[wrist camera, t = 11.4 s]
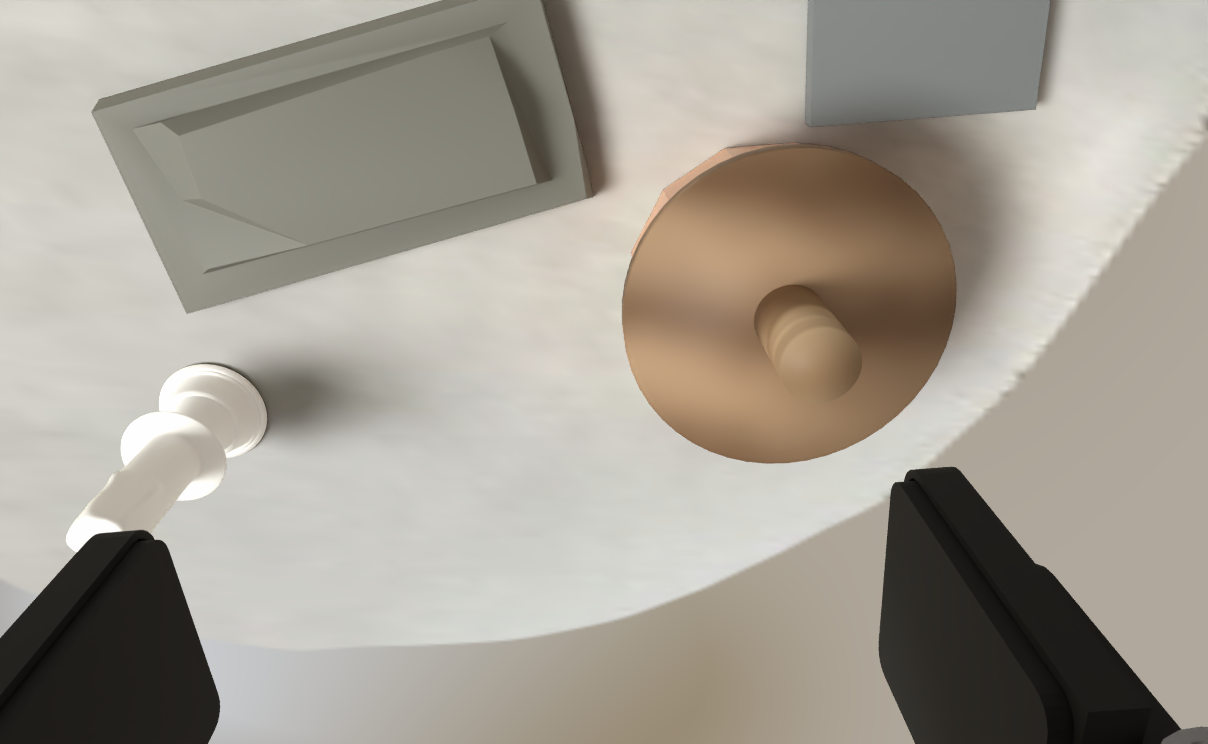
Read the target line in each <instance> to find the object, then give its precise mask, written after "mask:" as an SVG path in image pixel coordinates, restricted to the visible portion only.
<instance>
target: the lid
mask: <svg viewBox="0 0 1208 744" xmlns="http://www.w3.org/2000/svg"><path fill="white" fill-rule="evenodd" d="M955 307H956V276H955V267H954V262H953V258H952V254H951V250H950V246H949V243H948V241H947V239H946V236H945V234H944V232H943V229H942V227H941V225H940V223H939V222H938V220H937V218H936V217H935V215H934V214H933V212H932V210H931V209H930V207H929V206H928V205H927V204H926V203H925V202H924V200H923V199H922V198H921V197H920V196H919V195H918V193H917V192H916V191H914V190H913V189H912V188H911V187H910V186H909V185H908V184H906V183H905V182H904V181H903V180H902V179H901V178H899V177H897V176H896V175H894V174H893V173H891V172H889V171H888V170H886V169H885V168H883V167H881V166H880V165H878V164H876V163H874V162H872V161H870V160H868V159H866V158H863V157H861V156H859V155H856V154H854V153H852V152H848V151H844V150H841V149H837V148H833V147H828V146H820V145H812V144H784V145H777V146H771V147H764V148H760V149H756V150H753V151H749V152H746V153H742V154H739V155H737V156H735V157H732V158H730V159H727V160H725V161H723V162H720V163H718V164H717V165H715V166H713V167H711V168H710V169H708V170H706V171H705V172H703V173H701V174H699V175H698V176H697V177H695V178H694V179H693V180H692V181H690V182H689V183H688V184H686V185H685V186H684V187H682V188H681V189H680V190H679V191H678V192H677V193H676V194H675V195H674V196H673V197H672V198H671V199H670V200H669V201H668V202H667V203H666V204H665V205H664V206H663V207H662V209H661V210H660V211H659V212H658V214H657V215H656V216H655V217H654V219H653V220H652V221H651V223H650V224H649V226H648V228H647V229H646V231H645V233H644V234H643V236H642V238H641V239H640V241H639V243H638V245H637V248H636V250H635V252H634V255H633V257H632V259H631V262H630V265H629V269H628V272H627V276H626V279H625V285H624V292H623V299H622V325H623V333H624V340H625V347H626V353H627V356H628V360H629V363H630V367H631V370H632V373H633V375H634V377H635V379H636V382H637V384H638V386H639V388H640V390H641V391H642V393H643V395H644V396H645V398H646V399H647V401H648V403H649V404H650V405H651V407H652V408H653V409H654V410H655V411H656V412H657V414H658V415H659V416H660V417H661V418H662V419H663V420H664V421H665V422H666V423H667V424H668V425H669V426H670V427H672V428H673V429H674V430H675V431H676V432H677V433H679V434H680V435H682V436H683V437H685V438H686V439H688V440H689V441H691V442H692V443H694V444H696V445H698V446H700V447H702V448H704V449H706V450H708V451H711V452H713V453H716V454H719V455H722V456H725V457H728V458H732V459H737V460H742V461H746V462H756V463H791V462H798V461H806V460H810V459H814V458H818V457H822V456H826V455H829V454H832V453H834V452H837V451H840V450H843V449H845V448H847V447H849V446H851V445H853V444H855V443H858V442H860V441H862V440H864V439H865V438H867V437H868V436H870V435H872V434H873V433H875V432H876V431H878V430H879V429H881V428H882V427H884V426H885V425H886V424H887V423H889V422H890V421H891V420H892V419H894V418H895V417H896V416H897V415H898V414H899V413H900V412H901V411H902V410H903V409H904V408H905V407H906V406H907V405H908V404H909V403H910V402H911V401H912V400H913V399H914V398H915V397H916V395H917V394H918V393H919V392H920V390H921V389H922V388H923V387H924V385H925V384H926V383H927V381H928V379H929V378H930V376H931V374H932V373H933V371H934V370H935V368H936V366H937V365H938V362H939V360H940V358H941V356H942V354H943V351H944V349H945V347H946V344H947V341H948V338H949V335H950V331H951V328H952V324H953V318H954V313H955Z"/></svg>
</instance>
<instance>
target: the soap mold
mask: <svg viewBox="0 0 1208 744" xmlns="http://www.w3.org/2000/svg"><path fill="white" fill-rule="evenodd" d="M92 115H93V117H94V119H95V121H96V123H97V125H98V127H99V129H100V131H101V134H102V136H103V138H104V140H105V142H106V144H107V146H108V148H109V150H110V153H111V155H112V157H113V159H114V161H115V163H116V165H117V167H118V170H119V172H120V174H121V176H122V178H123V180H124V182H125V184H126V186H127V189H128V191H129V193H130V195H131V197H132V199H133V201H134V203H135V205H136V208H137V210H138V212H139V214H140V216H141V218H142V220H143V222H144V224H145V227H146V229H147V231H148V233H149V235H150V237H151V239H152V241H153V243H154V246H155V248H156V250H157V252H158V254H159V256H160V258H161V260H162V262H163V265H164V267H165V269H166V271H167V273H168V275H169V277H170V279H171V281H172V284H173V286H174V288H175V290H176V292H177V294H178V296H179V298H180V300H181V303H182V305H183V307H184V309H185V311H186V313H187V314H188V313H192V312H195V311H199V310H202V309H206V308H209V307H213V306H216V305H219V304H223V303H226V302H230V301H233V300H237V299H240V298H244V297H247V296H251V295H254V294H258V293H261V292H265V291H268V290H272V289H275V288H278V287H282V286H285V285H289V284H292V283H296V282H299V281H303V280H306V279H310V278H313V277H317V276H320V275H324V274H327V273H331V272H334V271H337V270H341V269H344V268H348V267H351V266H355V265H358V264H362V263H365V262H369V261H372V260H376V259H379V258H383V257H386V256H390V255H393V254H396V253H400V252H403V251H407V250H410V249H414V248H417V247H421V246H424V245H428V244H431V243H435V242H438V241H442V240H445V239H449V238H452V237H456V236H459V235H462V234H466V233H469V232H473V231H476V230H480V229H483V228H487V227H490V226H494V225H497V224H501V223H504V222H508V221H511V220H515V219H518V218H521V217H525V216H528V215H532V214H535V213H539V212H542V211H546V210H549V209H553V208H556V207H560V206H563V205H567V204H570V203H574V202H577V201H580V200H584V199H587V198H591V197H593V192H592V186H591V179H590V174H589V170H588V167H587V163H586V160H585V156H584V153H583V149H582V146H581V142H580V138H579V135H578V131H577V127H576V123H575V119H574V116H573V112H572V108H571V104H570V101H569V97H568V93H567V89H566V85H565V82H564V78H563V74H562V70H561V66H560V63H559V59H558V55H557V51H556V48H555V44H554V40H553V36H552V32H551V29H550V25H549V21H548V17H547V14H546V10H545V6H544V2H543V0H442V1H438V2H435V3H431V4H428V5H424V6H421V7H417V8H414V9H410V10H407V11H403V12H400V13H396V14H393V15H389V16H386V17H383V18H379V19H376V20H372V21H369V22H365V23H362V24H358V25H355V26H351V27H348V28H344V29H341V30H337V31H334V32H330V33H327V34H323V35H320V36H317V37H313V38H310V39H306V40H303V41H299V42H296V43H292V44H289V45H285V46H282V47H278V48H275V49H271V50H268V51H264V52H261V53H257V54H254V55H251V56H247V57H244V58H240V59H237V60H233V61H230V62H226V63H223V64H219V65H216V66H212V67H209V68H205V69H202V70H199V71H195V72H192V73H188V74H185V75H181V76H178V77H174V78H171V79H167V80H164V81H161V82H157V83H154V84H150V85H147V86H143V87H140V88H136V89H133V90H130V91H126V92H123V93H119V94H116V95H112V96H109V97H105V98H102V99H99V101H98V102H97V104H96V106H95V107H94V109H93V111H92Z"/></svg>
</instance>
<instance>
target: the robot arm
mask: <svg viewBox="0 0 1208 744" xmlns="http://www.w3.org/2000/svg"><path fill="white" fill-rule="evenodd" d="M886 547H887V548H886V559H885V571H884V584H883V597H882V609H881V621H880V633H879V657H880V663H881V667H882V670H883V673H884V676H885V678H886V680H887V683H888V685H889V687H890V689H891V691H892V693H893V696H894V698H895V700H896V702H897V704H898V707H899V709H900V711H901V713H902V715H903V718H904V720H905V722H906V724H907V726H908V729H909V731H910V733H911V735H912V737H913V740H914V742H915V744H1208V727H1196V728H1190V729H1183V730H1181V729H1180V727H1179V726H1178V725H1177V724H1176V722H1175V721H1174V720H1173V719H1172V718H1171V716H1170V715H1169V714H1168V713H1167V712H1166V711H1165V709H1164V708H1163V707H1162V705H1161V704H1160V703H1159V702H1158V701H1157V699H1156V698H1155V697H1154V696H1153V695H1152V693H1151V692H1150V691H1149V690H1148V689H1147V687H1146V686H1145V685H1144V684H1143V682H1141V680H1140V679H1139V678H1138V676H1137V675H1136V674H1135V673H1134V672H1133V670H1132V669H1131V668H1130V667H1129V666H1128V664H1127V663H1126V662H1125V661H1124V659H1123V658H1122V657H1121V656H1120V655H1119V653H1118V652H1117V651H1116V650H1115V649H1114V647H1113V646H1112V645H1111V644H1110V643H1109V641H1108V640H1107V639H1106V638H1105V636H1104V635H1103V634H1102V633H1101V632H1100V630H1099V629H1098V628H1097V627H1096V626H1095V625H1094V623H1093V622H1092V621H1091V620H1090V619H1089V617H1088V616H1087V615H1086V614H1085V612H1084V611H1083V610H1082V609H1081V608H1080V606H1079V605H1078V604H1077V603H1076V602H1075V600H1074V599H1073V598H1072V597H1071V595H1070V594H1069V593H1068V592H1067V591H1066V590H1065V588H1064V587H1063V586H1062V584H1061V583H1060V582H1059V581H1058V580H1057V579H1056V577H1055V576H1054V575H1053V574H1052V573H1051V572H1050V571H1049V570H1048V569H1047V568H1045V567H1044V566H1040V565H1038V564H1035V563H1034V562H1033V560H1032V559H1031V558H1030V557H1029V555H1028V554H1027V553H1026V552H1025V550H1024V549H1023V548H1022V547H1021V545H1020V544H1019V543H1018V542H1017V540H1016V539H1015V538H1014V537H1013V536H1012V534H1011V533H1010V532H1009V531H1008V529H1007V528H1006V527H1005V526H1004V525H1003V523H1002V522H1001V521H1000V519H999V518H998V517H997V516H996V515H995V513H994V512H993V511H992V510H991V508H990V507H989V506H988V505H987V503H986V502H985V501H984V500H983V499H982V497H981V496H980V495H979V494H978V493H977V491H976V490H975V489H974V487H973V486H972V485H971V484H970V482H969V481H968V480H967V479H966V478H965V476H964V475H963V474H962V473H961V471H959V470H958V469H957V468H956V467H942V468H929V469H916V470H910V471H908V472H907V474H906V476H905V479H904V482H895V483H894V484H893V486H892V489H891V496H890V510H889V521H888V534H887V546H886ZM219 712H220V700H219V696H218V692H217V689H216V686H215V684H214V680H213V678H212V675H211V672H210V669H209V666H208V663H207V660H206V657H205V654H204V652H203V648H202V646H201V643H200V640H199V637H198V634H197V631H196V628H195V625H194V622H193V619H192V616H191V614H190V611H189V608H188V605H187V602H186V599H185V596H184V593H183V590H182V587H181V584H180V582H179V579H178V576H177V573H176V570H175V567H174V564H173V561H172V558H171V555H170V552H169V550H168V548H167V546H166V544H165V543H164V542H163V541H161V540H154V538H153V536H152V535H151V534H150V533H149V532H148V531H145V530H132V531H119V532H106V533H99V534H95V535H94V536H92V537H91V538H90V539H89V540H88V541H87V542H86V543H85V544H84V545H83V546H82V547H81V549H80V550H79V551H78V552H77V553H76V554H75V555H74V556H73V558H72V559H71V560H70V561H69V562H68V563H67V564H66V565H65V566H64V568H63V569H62V570H61V571H60V572H59V573H58V574H57V575H56V577H55V578H54V579H53V580H52V581H51V582H50V583H49V584H48V585H47V587H46V588H45V589H44V590H43V591H42V592H41V593H40V594H39V595H38V597H37V598H36V599H35V600H34V601H33V602H32V603H31V604H30V606H29V607H28V608H27V609H26V610H25V611H24V612H23V613H22V614H21V616H20V617H19V618H18V619H17V620H16V621H15V622H14V623H13V625H12V626H11V627H10V628H9V629H8V630H7V631H6V632H5V633H4V635H3V636H2V637H1V638H0V744H208V742H209V740H210V738H211V736H212V734H213V732H214V730H215V728H216V725H217V723H218V718H219Z"/></svg>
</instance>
